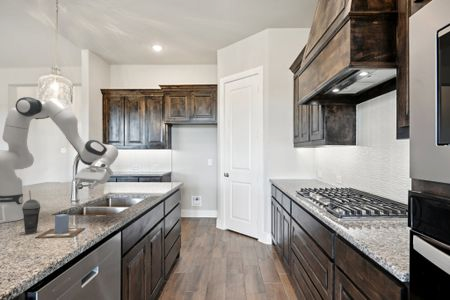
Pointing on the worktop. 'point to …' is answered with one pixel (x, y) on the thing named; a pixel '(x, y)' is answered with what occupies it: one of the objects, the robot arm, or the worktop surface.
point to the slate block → (61, 223)
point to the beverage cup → (31, 215)
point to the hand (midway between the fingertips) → (83, 187)
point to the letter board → (52, 234)
